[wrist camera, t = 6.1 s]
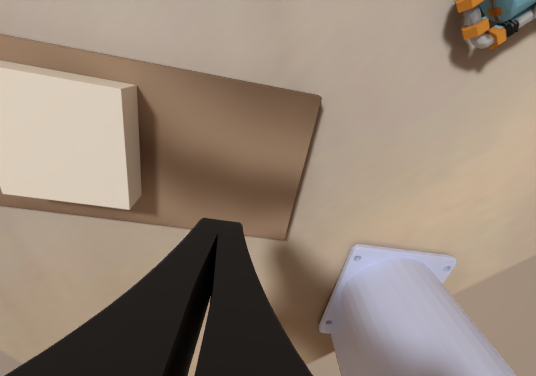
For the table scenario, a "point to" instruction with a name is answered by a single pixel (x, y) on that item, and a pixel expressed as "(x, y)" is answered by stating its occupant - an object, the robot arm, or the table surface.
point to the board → (194, 142)
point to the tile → (68, 137)
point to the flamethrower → (494, 20)
